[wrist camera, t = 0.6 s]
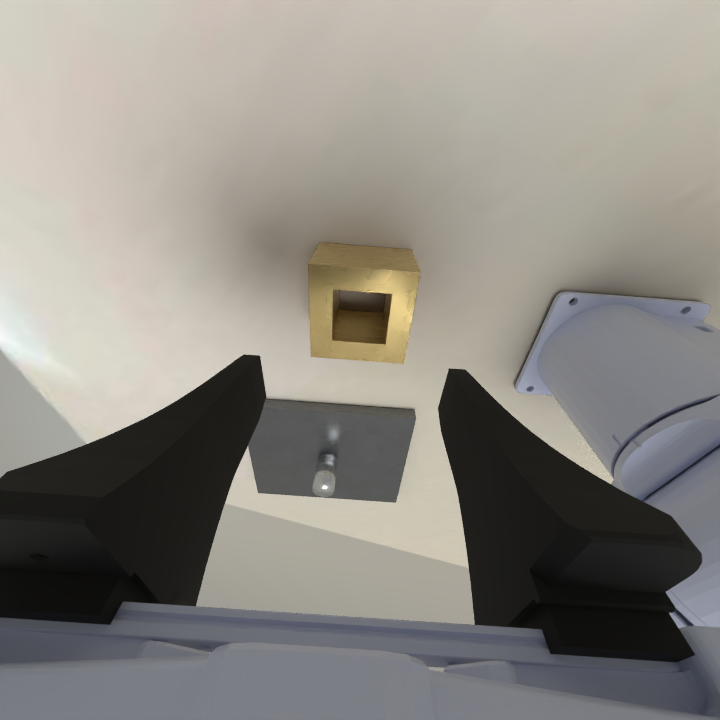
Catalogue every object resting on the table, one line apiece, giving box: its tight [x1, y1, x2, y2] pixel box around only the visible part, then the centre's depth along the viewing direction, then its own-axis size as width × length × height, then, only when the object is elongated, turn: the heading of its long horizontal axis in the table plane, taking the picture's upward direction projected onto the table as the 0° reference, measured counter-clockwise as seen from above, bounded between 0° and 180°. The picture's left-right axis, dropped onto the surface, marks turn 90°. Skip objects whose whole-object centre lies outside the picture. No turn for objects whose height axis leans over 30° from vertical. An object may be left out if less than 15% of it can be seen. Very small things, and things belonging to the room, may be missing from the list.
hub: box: [308, 242, 420, 364], centre depth 18 cm, size 5×5×4 cm
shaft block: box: [248, 399, 416, 502], centre depth 27 cm, size 14×12×4 cm
